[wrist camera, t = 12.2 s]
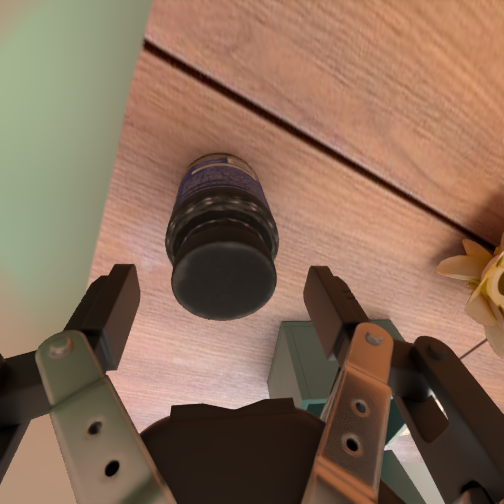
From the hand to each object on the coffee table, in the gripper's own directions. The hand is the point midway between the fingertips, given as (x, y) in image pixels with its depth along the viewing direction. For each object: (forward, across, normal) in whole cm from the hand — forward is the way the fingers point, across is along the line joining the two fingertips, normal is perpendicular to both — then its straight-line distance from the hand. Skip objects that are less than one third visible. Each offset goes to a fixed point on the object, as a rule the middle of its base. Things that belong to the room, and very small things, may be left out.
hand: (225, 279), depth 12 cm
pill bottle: (+10, 0, 0) cm, 11 cm away
